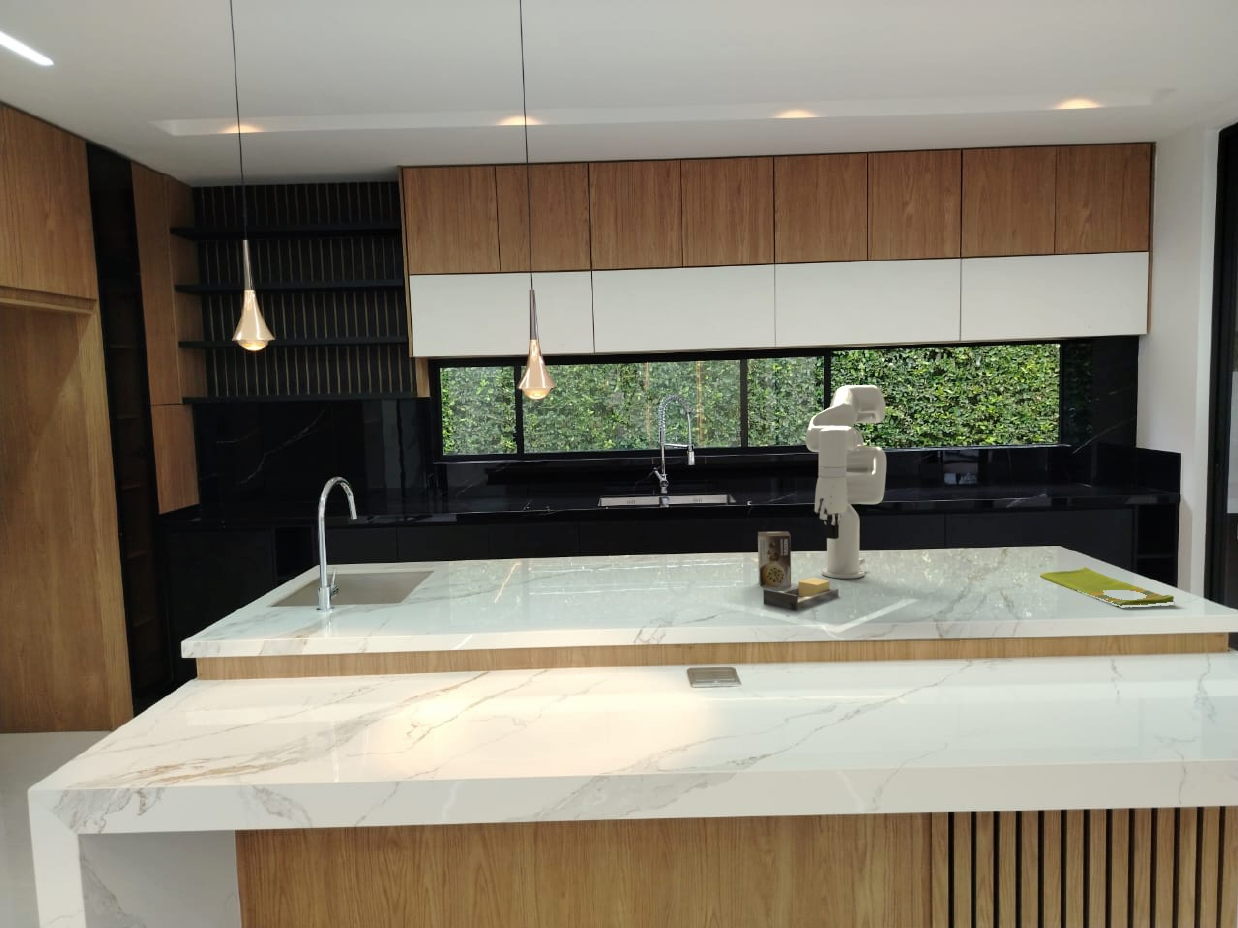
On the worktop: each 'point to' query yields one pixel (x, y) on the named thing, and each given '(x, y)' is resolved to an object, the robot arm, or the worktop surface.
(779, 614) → the worktop surface
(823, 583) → the block
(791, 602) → the chute
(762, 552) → the coffee box
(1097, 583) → the dish towel
